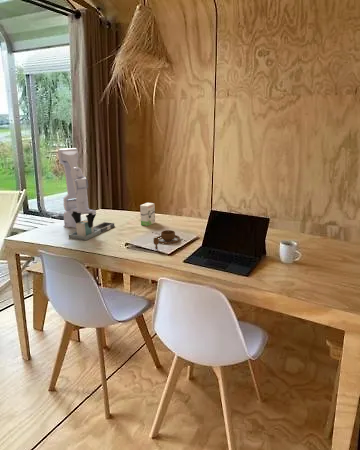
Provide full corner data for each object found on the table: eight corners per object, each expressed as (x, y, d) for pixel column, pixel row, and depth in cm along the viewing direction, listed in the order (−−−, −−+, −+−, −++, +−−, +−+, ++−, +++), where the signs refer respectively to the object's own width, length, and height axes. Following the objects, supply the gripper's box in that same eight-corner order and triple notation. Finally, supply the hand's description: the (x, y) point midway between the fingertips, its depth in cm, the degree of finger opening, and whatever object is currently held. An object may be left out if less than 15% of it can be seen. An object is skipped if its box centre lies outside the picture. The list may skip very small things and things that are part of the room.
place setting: (188, 243, 182) (188, 231, 180) (156, 252, 170) (156, 240, 168) (167, 235, 195) (166, 224, 193) (135, 243, 182) (134, 232, 181)
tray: (69, 238, 191) (68, 234, 190) (85, 230, 202) (84, 227, 202) (85, 240, 186) (85, 236, 186) (101, 232, 198) (101, 229, 198)
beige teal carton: (77, 236, 191) (75, 223, 189) (87, 231, 199) (86, 218, 197) (83, 237, 190) (82, 224, 188) (93, 232, 198) (92, 219, 196)
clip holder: (91, 231, 202) (91, 227, 201) (104, 225, 212) (103, 222, 212) (103, 232, 199) (102, 228, 199) (114, 226, 210) (114, 223, 209)
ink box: (147, 226, 209) (147, 206, 206) (140, 225, 211) (139, 205, 208) (155, 222, 217) (154, 202, 213) (148, 221, 219) (147, 202, 215)
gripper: (65, 202, 188) (68, 227, 192) (89, 204, 183) (91, 230, 187) (74, 199, 195) (77, 223, 199) (97, 201, 189) (99, 226, 193)
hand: (84, 226), depth 193 cm, fingers open, 7 cm apart
